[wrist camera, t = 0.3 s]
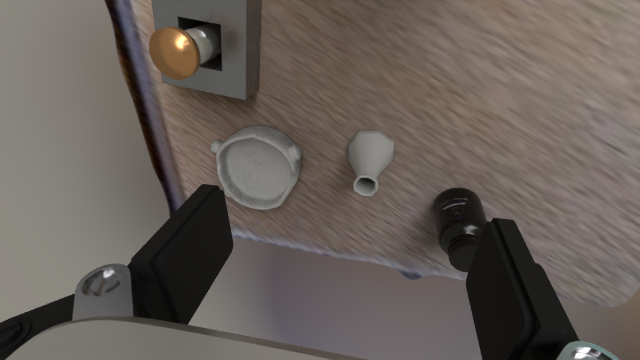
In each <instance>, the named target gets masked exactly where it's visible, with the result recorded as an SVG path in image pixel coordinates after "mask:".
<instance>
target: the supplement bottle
mask: <svg viewBox="0 0 640 360" xmlns="http://www.w3.org/2000/svg"><path fill="white" fill-rule="evenodd" d="M435 217H436V225H437V233H438V240H439V244H440V247H441V248H442V250H443V251H444V252H445V253H447V254H448V256H449V261H450V263H451V265H452V266H453V267H454V268H455V269H457V270H459V271H462V272H469V269H470V266H471V263H472V260H473V258H474V255H475V252H476V249H477V246H478V243H479V240H480V237H481V234H482V231H483V229H484V226H485V223H486V222H487V219H486V216H485V213H484V210H483V207H482V204H481V201H480V199H479V197H478V196H477V195H476V194H475V193H474V192H472V191H470V190H468V189H464V188H453V189H449V190H447V191H445V192H443V193H442V194H441V195H439V197H438V198H437V199H436V202H435Z"/></svg>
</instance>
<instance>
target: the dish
mask: <svg viewBox="0 0 640 360" xmlns="http://www.w3.org/2000/svg"><path fill="white" fill-rule="evenodd" d="M211 152H213V153H216V162H217V174H218V177H219V180H220V182H221V184H222V186H223V187H224V193H225V194H226V196H227V197H229V198H233V199H234V200H235V201H236V202H238V203H239V204H241V205H243V206H246V207H249V208H253V209H259V210H268V209H272V208H276V207H278V206H280V205H281V204H282V203H283V202H284V201H285V199H286V198H287V196H288V195H289V194H290V192H291V190H292V189H293V187H294V185H295V184H296V182H297V180H298V178H299V174H300V168H301V160H300V159H301V156H302V155H301V149H300V148H299V146H298V145H295V144H294V142H293V141H292V140H291V139H290V138H289V137H288V136H287V135H285V134H284V133H282V132H280V131H279V130H277V129H274V128H271V127H267V126H260V125H256V126H249V127H245V128H243V129H241V130H239V131H237V132H235V133H234V134H232V135H231V136H230V137H229V138H227V139H226V140H225V141H224V142H223V141H221V140H220V139H218V140H215V141H214V142H213V143H212V145H211Z"/></svg>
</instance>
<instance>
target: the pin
mask: <svg viewBox="0 0 640 360" xmlns="http://www.w3.org/2000/svg"><path fill="white" fill-rule="evenodd" d="M149 51H150V55H151V58H152V60H153V62H154V64H155V65H156V67H157V68H158V69H159V70H160V71H161V72H162V73H163V74H164V75H166V76H167V77H169V78H172V79H176V80H182V79H186V78H188V77H190V76H192V75H194V74H195V73H196V72H197V71H198V69H199V67H200V64H202V63H204V62H207V61H209V60H211V59H213V58H215V57H217V56H220V55H222V46H221V24H216V23H210V24H206V25H202V26H199V27H195V28H191V29H187V30H183V29H181V28H178V27H173V26H171V27H166V28H161V29H158V30H157V31H155V32H154V33H153V35H152V36H151V38H150V42H149Z"/></svg>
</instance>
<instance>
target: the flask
mask: <svg viewBox="0 0 640 360" xmlns="http://www.w3.org/2000/svg"><path fill="white" fill-rule="evenodd" d="M394 145H395V142H394V141H393V140H391V139H390V138H389V137H387V136H386V135H384V134H383V133H382V132H380V131H371V130H359V131H358V133H357V134H356V135H355V136H354V137H353V139H352V140H351V141H350V142H349V144H348V161H349V163H350V165H351V166H352V168H353V170H354V171H355V173H356V175H357V178H356V179H355V180H354V191H355V192H356V193H358V194H359V195H361V196H372V195H373V194H374V193H375V192H376V191H377V190H378V180H377V179H378V177H379V175H380V173H381V172H382V171H383V170H384V169H385V168H386V167H387V166H388V165H389V164H390V163H391V162H392V160H393V159H394Z"/></svg>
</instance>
